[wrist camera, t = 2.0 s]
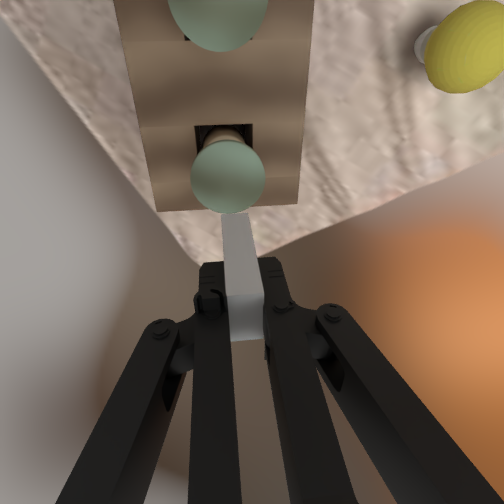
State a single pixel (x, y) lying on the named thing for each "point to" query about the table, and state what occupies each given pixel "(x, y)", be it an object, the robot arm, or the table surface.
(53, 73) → the table surface
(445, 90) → the yellow light bulb
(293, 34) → the socket block
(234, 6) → the near plunger
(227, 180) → the far plunger
